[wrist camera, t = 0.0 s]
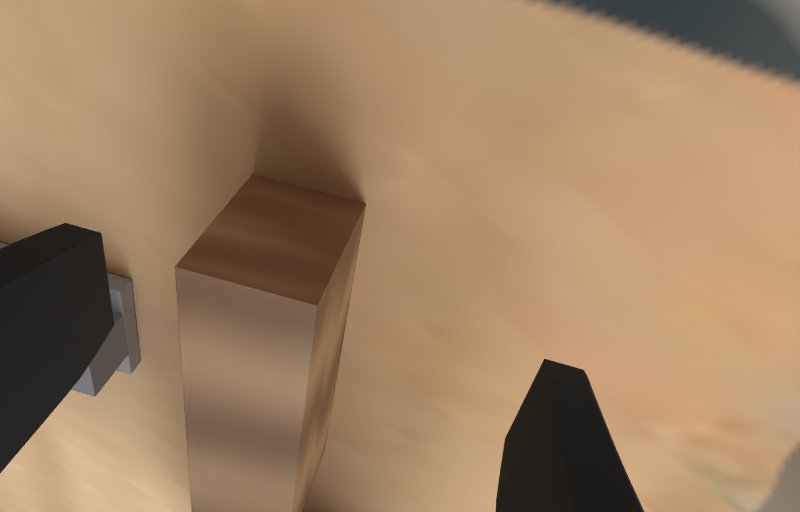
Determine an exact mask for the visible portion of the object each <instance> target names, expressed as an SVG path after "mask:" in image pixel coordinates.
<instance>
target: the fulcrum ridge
mask: <svg viewBox="0 0 800 512" xmlns="http://www.w3.org/2000/svg"><path fill="white" fill-rule="evenodd" d="M8 245H9V244H6V243H2V242H0V249H1V248H3V247H6V246H8ZM107 277H108V283H109V290H110V297H111V304H112V311H113V318H114V326H113V328H112V330H111V331H110V333H109V334H108V336H107V338H106V339H105V341H104V343H103V344H102V346H101V347H100V349H99V351H98V352H97V354H96V355H95V357H94V358H93V360H92V361H91V363H90V364H89V366H88V367H87V369H86V370H85V372H84V373H83V375H82V376H81V378H80V379H79V380H78V381H77V383H76V384H75V385H74V386H73V388H72V389H71V390H75V391H78V392H81V393H85V394H88V395H91V396H96V395H97V394H98V392H99V391H100V390H101V389H102V387H103V386H104V385H105V383H106V382H107V381H108V380H109V378H110V377H111V376H112V375H113V373H114V372H115V371H116V370H118V371H122V372H125V373H129V374H131V373H132V372H133V371H134V369H135V368H136V367H137V365H138V364H139V363H140V352H139V343H138V334H137V325H136V317H135V308H134V299H133V290H132V281H131V279H128V278H124V277H121V276H117V275H114V274H111V273H107Z"/></svg>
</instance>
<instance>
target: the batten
mask: <svg viewBox="0 0 800 512" xmlns="http://www.w3.org/2000/svg"><path fill="white" fill-rule="evenodd" d="M365 207H366V204H362V203H359V202H355V201H351V200H347V199H343V198H340V197H336V196H332V195H328V194H324V193H321V192H317V191H313V190H309V189H306V188H302V187H298V186H294V185H290V184H287V183H283V182H279V181H275V180H271V179H268V178H264V177H260V176H256V175H253V174H252V175H251V177H250V178H249V179H248V180H247V181H246V183H245V184H244V185H243V186H242V187H241V189H240V190H239V191H238V192H237V193H236V195H235V196H234V197H233V198H232V199H231V201H230V202H229V203H228V204H227V205H226V207H225V208H224V209H223V210H222V211H221V212H220V214H219V215H218V216H217V217H216V218H215V220H214V221H213V222H212V223H211V224H210V226H209V227H208V228H207V229H206V230H205V232H204V233H203V234H202V235H201V236H200V238H199V239H198V240H197V241H196V242H195V244H194V245H193V246H192V247H191V248H190V249H189V251H188V252H187V253H186V254H185V255H184V257H183V258H182V259H181V260H180V261H179V263H178V264H177V265H176V266H175V275H176V289H177V304H178V318H179V333H180V348H181V362H182V377H183V391H184V406H185V421H186V435H187V450H188V464H189V479H190V494H191V508H192V512H302V511H303V508H304V505H305V502H306V499H307V497H308V494H309V491H310V488H311V486H312V483H313V480H314V477H315V474H316V472H317V469H318V466H319V463H320V460H321V458H322V455H323V452H324V449H325V445H326V439H327V433H328V427H329V421H330V415H331V409H332V403H333V397H334V391H335V385H336V379H337V373H338V367H339V361H340V355H341V349H342V343H343V337H344V331H345V326H346V320H347V314H348V308H349V302H350V296H351V290H352V284H353V278H354V272H355V266H356V260H357V254H358V248H359V242H360V236H361V230H362V224H363V218H364V212H365Z"/></svg>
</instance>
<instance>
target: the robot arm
mask: <svg viewBox="0 0 800 512" xmlns="http://www.w3.org/2000/svg"><path fill="white" fill-rule="evenodd" d="M113 326H114V318H113V311H112V304H111V297H110V290H109V283H108V277H107V270H106V263H105V256H104V249H103V242H102V235H101V233H99V232H95V231H92V230H88V229H85V228H81V227H78V226H74V225H71V224H67V223H64V224H61V225H59V226H56V227H53V228H50V229H48V230H45V231H42V232H40V233H37V234H35V235H32V236H30V237H27V238H25V239H23V240H20V241H18V242H15V243H13V244H10V245H8V246H6V247H3V248H1V249H0V473H1V472H2V471H3V469H4V468H5V467H6V466H7V465H8V464H9V462H10V461H11V460H12V459H13V458H14V456H15V455H16V454H17V453H18V452H19V451H20V449H21V448H22V447H23V446H24V445H25V443H26V442H27V441H28V440H29V439H30V438H31V436H32V435H33V434H34V433H35V432H36V431H37V429H38V428H39V427H40V426H41V425H42V424H43V422H44V421H45V420H46V419H47V418H48V416H49V415H50V414H51V413H52V412H53V410H54V409H55V408H56V407H57V406H58V404H59V403H60V402H61V401H62V400H63V398H64V397H65V396H66V395H67V394H68V392H69V391H70V390H71V389H72V388H73V386H74V385H75V384H76V383H77V381H78V380H79V379H80V378H81V376H82V375H83V373H84V372H85V370H86V369H87V367H88V366H89V364H90V363H91V361H92V360H93V358H94V357H95V355H96V354H97V352H98V351H99V349H100V347H101V346H102V344H103V343H104V341H105V339H106V338H107V336H108V334H109V333H110V331H111V330H112V328H113ZM496 512H644V510H643V508H642V506H641V504H640V502H639V499H638V497H637V495H636V493H635V491H634V488H633V486H632V484H631V482H630V480H629V478H628V475H627V473H626V471H625V468H624V466H623V464H622V461H621V459H620V457H619V454H618V452H617V450H616V447H615V445H614V442H613V440H612V438H611V435H610V433H609V430H608V428H607V425H606V423H605V420H604V418H603V415H602V413H601V410H600V408H599V405H598V403H597V400H596V398H595V395H594V392H593V390H592V387H591V385H590V382H589V379H588V377H587V375H586V373H585V372H584V370H582V369H578V368H575V367H571V366H568V365H564V364H561V363H557V362H554V361H550V360H547V359H544V361H543V363H542V365H541V367H540V369H539V371H538V373H537V375H536V377H535V379H534V381H533V383H532V385H531V387H530V389H529V391H528V393H527V395H526V397H525V399H524V401H523V403H522V405H521V408H520V410H519V412H518V414H517V416H516V418H515V420H514V422H513V424H512V426H511V428H510V430H509V432H508V434H507V436H506V438H505V443H504V450H503V457H502V463H501V470H500V477H499V484H498V492H497V499H496Z"/></svg>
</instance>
